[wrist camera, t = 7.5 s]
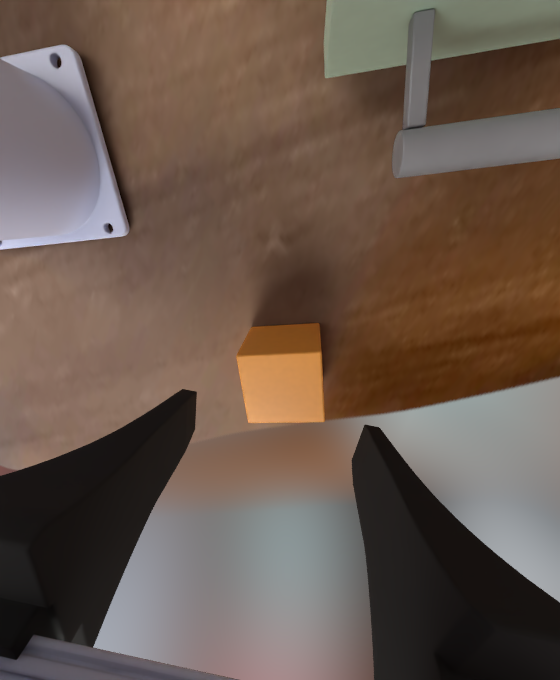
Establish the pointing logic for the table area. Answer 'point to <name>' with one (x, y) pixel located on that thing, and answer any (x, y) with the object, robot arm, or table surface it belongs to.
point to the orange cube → (282, 374)
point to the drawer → (416, 53)
